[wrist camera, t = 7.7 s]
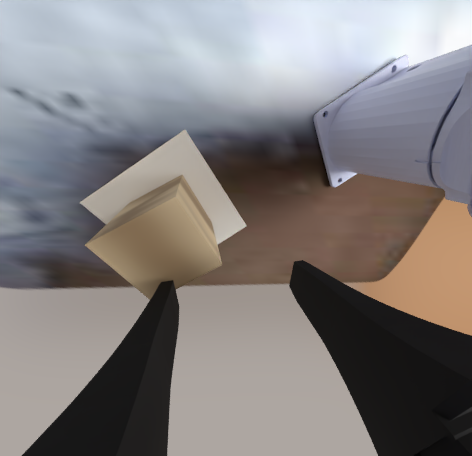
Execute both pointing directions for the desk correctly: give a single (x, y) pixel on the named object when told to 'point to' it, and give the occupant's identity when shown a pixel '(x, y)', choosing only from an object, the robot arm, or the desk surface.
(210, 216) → the base
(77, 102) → the desk surface
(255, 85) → the desk surface
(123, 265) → the oak block
